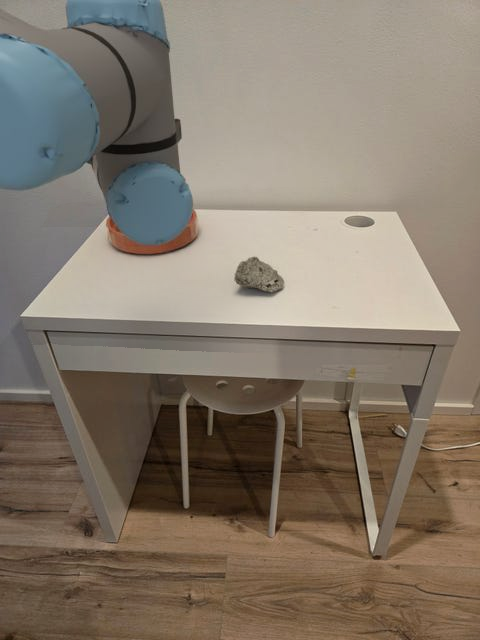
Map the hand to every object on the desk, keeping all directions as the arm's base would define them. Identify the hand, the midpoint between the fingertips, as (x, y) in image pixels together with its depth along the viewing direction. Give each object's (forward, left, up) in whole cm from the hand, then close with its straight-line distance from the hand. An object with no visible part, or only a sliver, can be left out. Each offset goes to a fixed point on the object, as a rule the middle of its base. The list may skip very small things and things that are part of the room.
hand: (102, 124), depth 66 cm
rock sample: (+25, -3, -30) cm, 39 cm away
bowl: (+5, +24, -30) cm, 39 cm away
